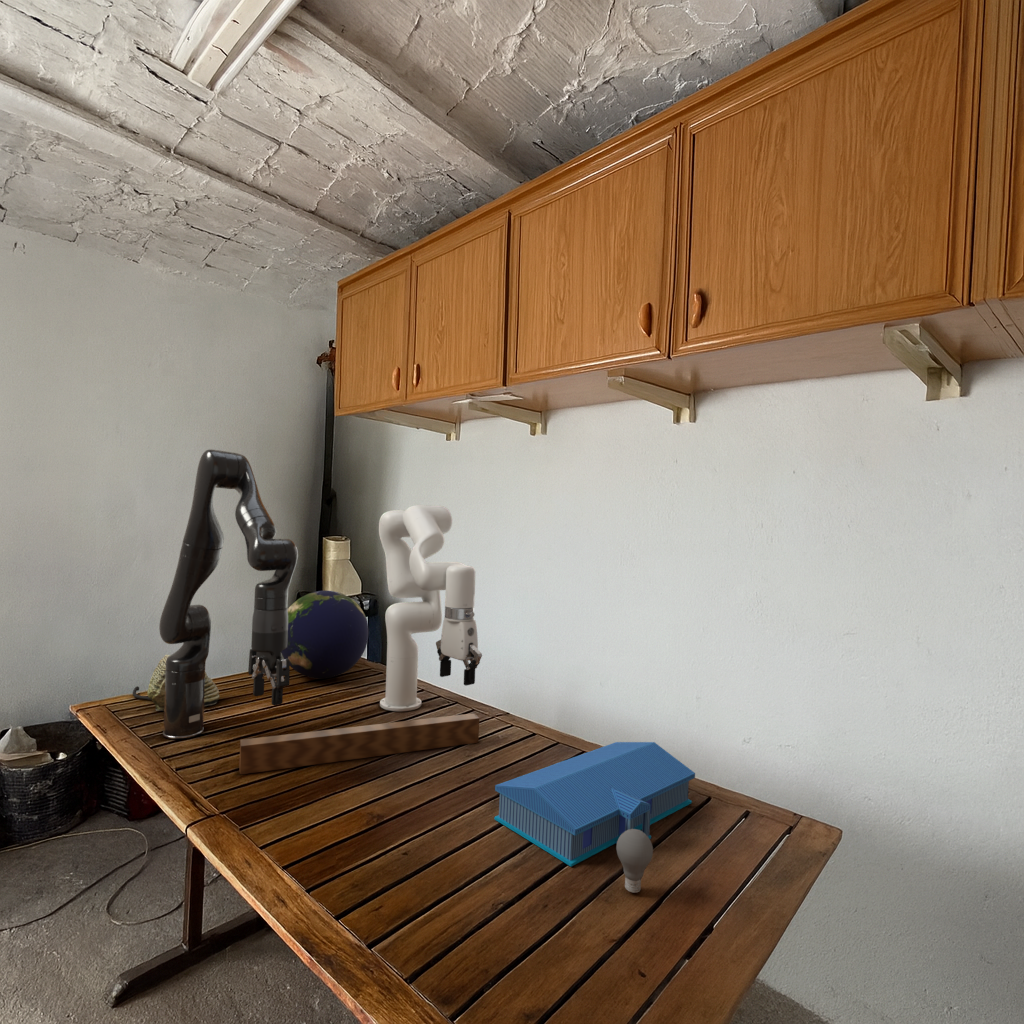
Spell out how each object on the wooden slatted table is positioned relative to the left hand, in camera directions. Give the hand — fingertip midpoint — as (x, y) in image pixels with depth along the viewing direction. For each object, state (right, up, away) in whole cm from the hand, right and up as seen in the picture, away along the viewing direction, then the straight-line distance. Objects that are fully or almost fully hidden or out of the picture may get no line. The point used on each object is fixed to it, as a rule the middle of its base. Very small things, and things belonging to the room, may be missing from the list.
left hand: (267, 699), depth 142 cm
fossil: (-41, -15, +43) cm, 61 cm away
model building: (+74, -21, -10) cm, 77 cm away
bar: (+19, -18, +15) cm, 30 cm away
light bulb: (+75, -21, -36) cm, 86 cm away
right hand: (+41, -1, +20) cm, 46 cm away
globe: (-11, -15, +78) cm, 80 cm away
